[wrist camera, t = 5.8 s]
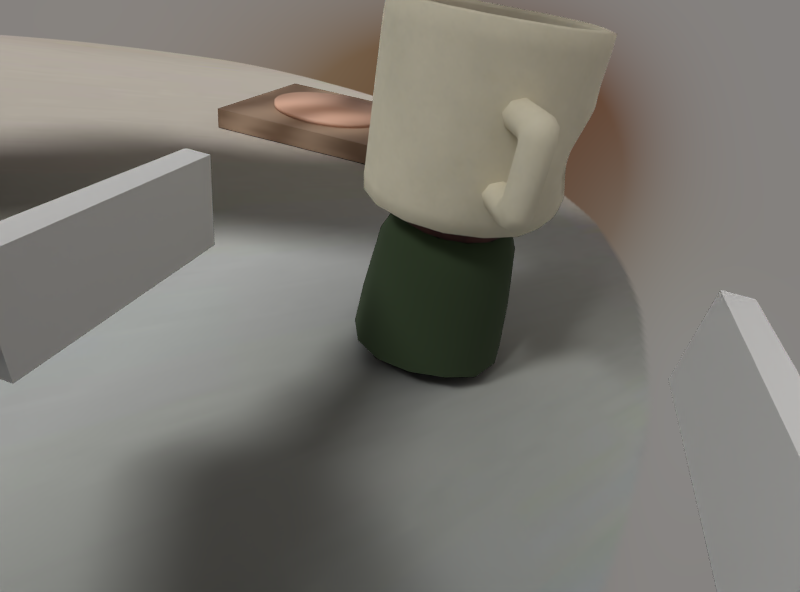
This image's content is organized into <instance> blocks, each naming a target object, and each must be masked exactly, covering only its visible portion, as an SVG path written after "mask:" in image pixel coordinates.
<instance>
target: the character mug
mask: <svg viewBox="0 0 800 592" xmlns="http://www.w3.org/2000/svg"><path fill="white" fill-rule="evenodd" d="M616 36H617V34H616V33H614V32H612V31H610V30H608V29H606V28H603V27H601V26H597V25H593V24H589V23H586V22H581V21H577V20H573V19H569V18H564V17H559V16H554V15H550V14H545V13H539V12H535V11H529V10H524V9H519V8H513V7H508V6H503V5H498V4H493V3H488V2H483V1H477V0H385V5H384V11H383V19H382V28H381V36H380V44H379V52H378V61H377V69H376V78H375V86H374V95H373V103H372V111H371V119H370V128H369V136H368V144H367V153H366V161H365V169H364V190H365V191H366V192H367V193H368V195H369V196H370V197H371V198H372V200H373V201H374V202H375V204H376V205H378V206H379V207H381V208H383V209H385V210H386V211H388V212H390V213H391V214H390V215H389V216H388V218H387V219H386V220H385V222H384V223H383V225H382V226H381V229H380V232H379V235H378V238H377V242H376V245H375V248H374V252H373V255H372V258H371V261H370V265H369V268H368V271H367V275H366V278H365V281H364V285H363V289H362V293H361V297H360V301H359V306H358V310H357V314H356V318H355V322H356V329H357V336H358V341H360V342H361V343H362V344H363V345H364V346H365V347H366V348H367V349H368V350H369V351H370V352H371V353H372V354H373V355H374V356H375V357H376V358H377V359H379V360H382V361H384V362H387V363H389V364H392V365H394V366H396V367H399V368H401V369H404V370H406V371H409V372H415V373H421V374H427V375H433V376H440V377H476V376H477V375H478V374H480V373H481V372H483V371H484V370H485V369H487V368H488V367H490V366H491V365H492V364H494V362H495V359H496V355H497V351H498V348H499V344H500V339H501V334H502V329H503V324H504V319H505V315H506V310H507V304H508V297H509V289H510V282H511V275H512V267H513V259H514V251H515V246H514V241H513V237H519V236H521V235H524V234H526V233H529V232H531V231H534V230H537V229H539V228H540V227H541V226H543V225H544V224H545V223H547V222H548V221H549V220H551V219H552V218H553V217H554V215H555V214H556V212H557V211H558V209H559V207H560V205H561V203H562V201H563V198H564V183H565V182H564V181H565V169H566V163H567V160H568V157H569V154H570V151H571V149H572V147H573V146H574V144H575V142H576V141H577V139H578V137H579V135H580V134H581V132H582V130H583V129H584V127H585V125H586V124H587V122H588V120H589V119H590V117H591V115H592V113H593V111H594V109H595V106H596V102H597V98H598V93H599V90H600V86H601V82H602V80H603V77H604V74H605V71H606V68H607V65H608V62H609V59H610V56H611V53H612V50H613V46H614V43H615V40H616Z"/></svg>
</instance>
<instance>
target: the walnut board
mask: <svg viewBox="0 0 800 592" xmlns="http://www.w3.org/2000/svg"><path fill="white" fill-rule="evenodd" d="M372 103H373V101H368V100H364V99H360V98H355V97H351V96H347V95H342V94H338V93H334V92H329V91H325V90H321V89H316V88H312V87H308V86H303V85H299V84H293V85H289V86H286V87H283V88H280V89H277V90H274V91H271V92H268V93H265V94H262V95H259V96H255V97H252V98H249V99H246V100H243V101H240V102H237V103H234V104H231V105H228V106H225V107H221V108H218V124H219V127H220V128H224V129H228V130H232V131H236V132H240V133H244V134H248V135H252V136H256V137H260V138H264V139H268V140H272V141H276V142H280V143H284V144H288V145H292V146H296V147H300V148H304V149H307V150H311V151H315V152H319V153H323V154H327V155H331V156H335V157H339V158H343V159H347V160H351V161H355V162H359V163H363V164H365V161H366V153H367V144H368V136H369V128H370V119H371V111H372Z"/></svg>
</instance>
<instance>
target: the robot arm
mask: <svg viewBox="0 0 800 592" xmlns="http://www.w3.org/2000/svg"><path fill="white" fill-rule="evenodd" d="M214 245H215V244H214V223H213V202H212V181H211V159H210V154H206V153H202V152H199V151H195V150H191V149H187V148H184V149H182V150H179V151H176V152H174V153H171V154H169V155H166V156H164V157H161V158H159V159H156V160H154V161H151V162H148V163H146V164H143V165H141V166H138V167H136V168H133V169H131V170H128V171H126V172H123V173H120V174H118V175H115V176H113V177H110V178H108V179H105V180H103V181H100V182H97V183H95V184H92V185H90V186H87V187H85V188H82V189H80V190H77V191H75V192H72V193H69V194H67V195H64V196H62V197H59V198H57V199H54V200H52V201H49V202H47V203H44V204H41V205H39V206H36V207H34V208H31V209H29V210H26V211H24V212H21V213H18V214H16V215H13V216H11V217H8V218H6V219H3V220H1V221H0V379H2V380H5V381H7V382H10V383H15V382H16V381H18V380H19V379H21V378H22V377H23V376H25V375H26V374H28V373H29V372H31V371H32V370H34V369H35V368H36V367H38V366H39V365H41V364H42V363H44V362H45V361H47V360H48V359H50V358H51V357H52V356H54V355H55V354H57V353H58V352H60V351H61V350H63V349H64V348H66V347H67V346H68V345H70V344H71V343H73V342H74V341H76V340H77V339H79V338H80V337H81V336H83V335H84V334H86V333H87V332H89V331H90V330H92V329H93V328H95V327H96V326H97V325H99V324H100V323H102V322H103V321H105V320H106V319H108V318H109V317H110V316H112V315H113V314H115V313H116V312H118V311H119V310H121V309H122V308H124V307H125V306H126V305H128V304H129V303H131V302H132V301H134V300H135V299H137V298H138V297H140V296H141V295H142V294H144V293H145V292H147V291H148V290H150V289H151V288H153V287H154V286H155V285H157V284H158V283H160V282H161V281H163V280H164V279H166V278H167V277H169V276H170V275H171V274H173V273H174V272H176V271H177V270H179V269H180V268H182V267H183V266H185V265H186V264H187V263H189V262H190V261H192V260H193V259H195V258H196V257H198V256H199V255H200V254H202V253H203V252H205V251H206V250H208V249H209V248H211V247H212V246H214ZM668 380H669V385H670V389H671V394H672V398H673V402H674V406H675V411H676V415H677V420H678V424H679V428H680V433H681V437H682V441H683V446H684V450H685V455H686V459H687V464H688V468H689V472H690V477H691V481H692V485H693V489H694V494H695V499H696V503H697V507H698V512H699V516H700V520H701V525H702V529H703V533H704V538H705V542H706V547H707V551H708V555H709V560H710V564H711V568H712V572H713V577H714V581H715V586H716V590H717V592H800V375H799V373H798V371H797V370H796V368H795V366H794V364H793V363H792V361H791V359H790V357H789V356H788V354H787V352H786V350H785V349H784V347H783V345H782V344H781V342H780V340H779V338H778V337H777V335H776V333H775V332H774V330H773V328H772V326H771V325H770V323H769V321H768V319H767V318H766V316H765V314H764V312H763V311H762V309H761V307H760V305H759V304H758V302H757V300H756V299H753V298H750V297H746V296H742V295H738V294H734V293H731V292H727V291H723V290H720V291H719V293H718V295H717V297H716V298H715V300H714V301H713V303H712V305H711V307H710V308H709V310H708V312H707V314H706V315H705V317H704V319H703V320H702V322H701V324H700V326H699V327H698V329H697V331H696V333H695V334H694V336H693V338H692V339H691V341H690V343H689V345H688V346H687V348H686V350H685V351H684V353H683V355H682V357H681V359H680V360H679V362H678V364H677V366H676V367H675V369H674V370H673V372H672V374H671V376H670V377H669V379H668Z"/></svg>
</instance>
